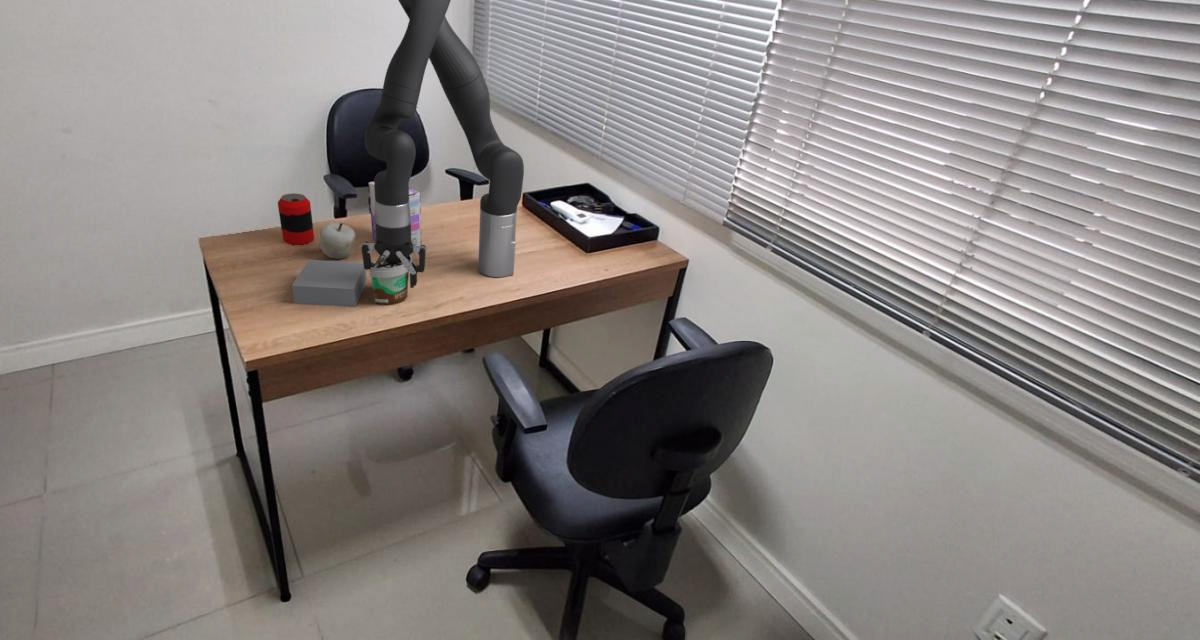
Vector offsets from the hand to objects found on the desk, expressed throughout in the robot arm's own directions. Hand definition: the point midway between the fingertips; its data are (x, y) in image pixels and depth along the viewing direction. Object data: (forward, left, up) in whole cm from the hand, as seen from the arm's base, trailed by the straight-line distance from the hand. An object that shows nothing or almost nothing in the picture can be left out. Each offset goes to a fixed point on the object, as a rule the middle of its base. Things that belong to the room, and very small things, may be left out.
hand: (395, 285), depth 143 cm
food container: (0, 0, -4) cm, 4 cm away
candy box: (+4, -30, -4) cm, 31 cm away
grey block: (+15, -2, -4) cm, 15 cm away
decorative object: (+17, -20, -4) cm, 26 cm away
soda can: (+29, -29, -4) cm, 41 cm away
